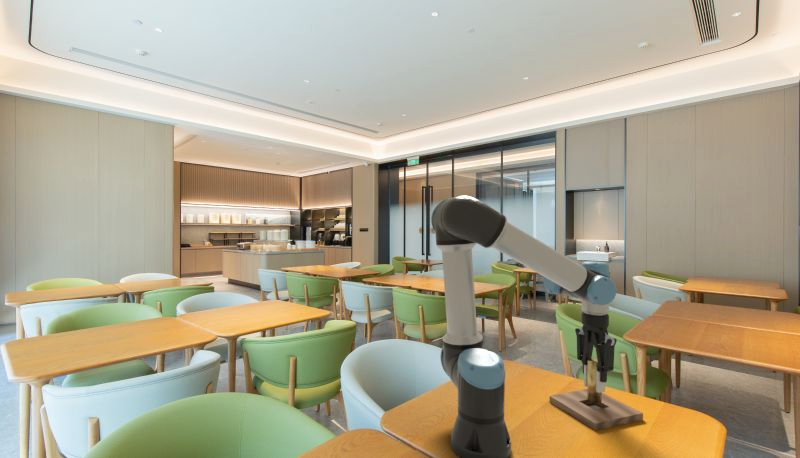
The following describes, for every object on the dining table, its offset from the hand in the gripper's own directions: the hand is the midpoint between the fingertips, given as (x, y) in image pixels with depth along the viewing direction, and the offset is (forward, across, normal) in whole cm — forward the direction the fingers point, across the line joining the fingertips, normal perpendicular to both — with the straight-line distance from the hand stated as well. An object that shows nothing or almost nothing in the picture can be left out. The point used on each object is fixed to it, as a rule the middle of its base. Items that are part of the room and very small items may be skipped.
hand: (594, 388), depth 116 cm
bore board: (+7, 0, 0) cm, 7 cm away
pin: (+4, 0, 0) cm, 4 cm away
